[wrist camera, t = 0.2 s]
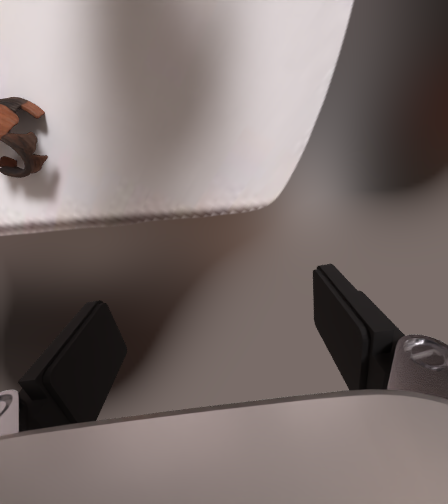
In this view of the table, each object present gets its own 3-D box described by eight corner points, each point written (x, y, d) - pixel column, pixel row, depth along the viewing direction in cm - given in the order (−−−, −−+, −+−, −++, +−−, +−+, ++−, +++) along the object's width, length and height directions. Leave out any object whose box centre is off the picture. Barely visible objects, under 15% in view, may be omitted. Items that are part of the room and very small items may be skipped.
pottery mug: (69, 119, 35) (40, 150, 30) (59, 162, 41) (34, 194, 36) (-38, 54, 29) (-94, 81, 24) (-30, 116, 36) (-74, 146, 31)
